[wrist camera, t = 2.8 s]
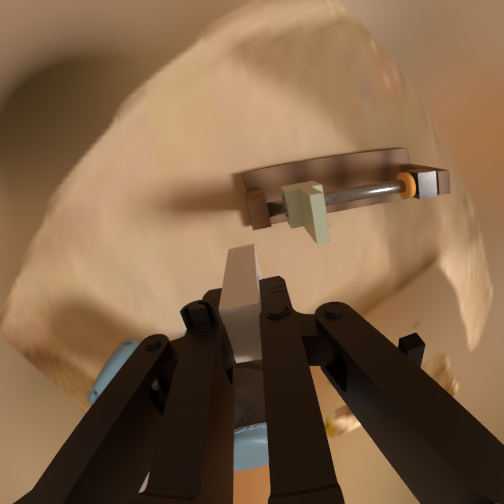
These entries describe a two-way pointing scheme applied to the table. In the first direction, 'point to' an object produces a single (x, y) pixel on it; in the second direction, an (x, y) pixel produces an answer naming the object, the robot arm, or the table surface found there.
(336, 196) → the rod
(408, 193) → the stop band
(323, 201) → the cream t-shaped block
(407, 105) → the table surface
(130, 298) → the table surface
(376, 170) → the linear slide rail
